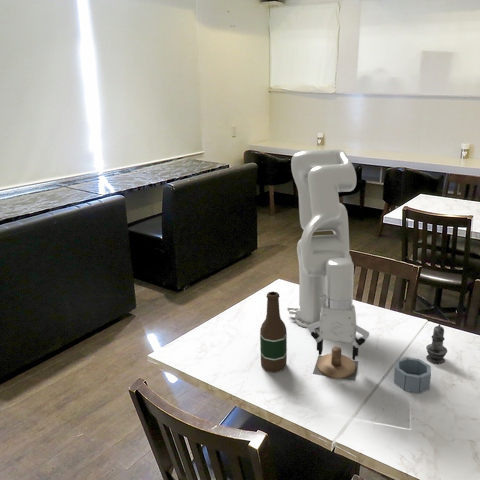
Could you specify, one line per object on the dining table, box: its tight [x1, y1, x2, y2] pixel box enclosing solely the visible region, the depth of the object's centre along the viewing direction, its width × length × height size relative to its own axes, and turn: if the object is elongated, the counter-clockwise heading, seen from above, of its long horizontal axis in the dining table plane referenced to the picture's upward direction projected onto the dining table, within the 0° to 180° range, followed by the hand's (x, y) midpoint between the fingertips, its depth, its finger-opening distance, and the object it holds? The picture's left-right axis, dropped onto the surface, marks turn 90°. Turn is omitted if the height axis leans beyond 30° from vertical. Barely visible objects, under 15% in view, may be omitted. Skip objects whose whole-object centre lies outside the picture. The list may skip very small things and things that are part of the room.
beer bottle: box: [259, 291, 288, 373], centre depth 134 cm, size 8×8×24 cm
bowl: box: [393, 356, 432, 395], centre depth 127 cm, size 9×9×5 cm
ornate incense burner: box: [425, 323, 448, 365], centre depth 136 cm, size 6×6×12 cm
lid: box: [316, 346, 355, 380], centre depth 134 cm, size 11×11×6 cm
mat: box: [312, 354, 359, 382], centre depth 135 cm, size 12×10×1 cm
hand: (337, 355), depth 133 cm, fingers open, 9 cm apart
